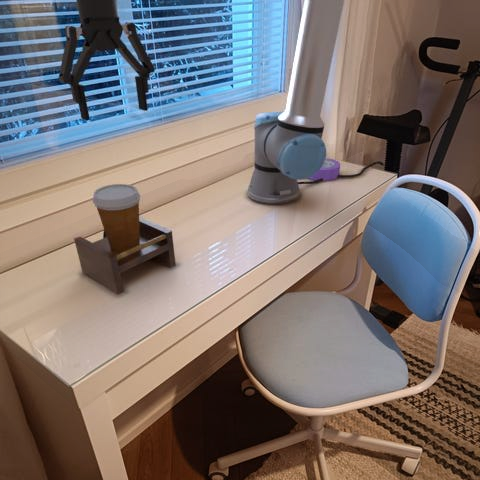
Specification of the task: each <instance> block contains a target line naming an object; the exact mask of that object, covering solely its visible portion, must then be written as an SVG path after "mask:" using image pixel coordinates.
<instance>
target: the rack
mask: <svg viewBox="0 0 480 480" xmlns="http://www.w3.org/2000/svg"><path fill="white" fill-rule="evenodd" d="M139 235H140V245H138V246H136V247H134V248H131V249H129V250H127V251H125V252H118V251H114V250H112V249H111V247H110V244H109V241H108V239H107V237H106V238H103V237H102V238H101V239H98V240H95V241H93V242H92V241H90V240H89V239H87V238H84V237H82V236H81V235H80V236H77V237H74V238H73V240H74V244H75V248H76V252H77V257H78V260H79V264H80V268H81V272H82V274H83V275H85V276H87V277H88V278H90V279H91V280H93V281H95V282H96V283H98V284H100V285H101V286H102V287H104V288H106V289H107V290H109V291H111V292H112V293H115V294H116V295H120V294H121V293H123V292H124V288H123V282H122V278H121V273H123V272H126V271H127V270H129V269H132V268H133V267H136V266H138V265H140V264H141V263H144V262H146V261H148V260H150V259H153V260H155V261H157V262H158V263H160V264H162V265H164V266H166V267H168V268H173V267H176V265H177V264H176V257H175V246H174V237H173V231H172V230H170V229H168V228H166V227H163V226H161V225H159V224H156V223H155V222H153V221H150V220H148V219H145V218H143V217H141V216H139Z"/></svg>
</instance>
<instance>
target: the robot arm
mask: <svg viewBox="0 0 480 480" xmlns="http://www.w3.org/2000/svg"><path fill="white" fill-rule="evenodd" d="M75 1H76V6H77V12H78V16H79V20H80V25H79V26H78V27H77V26H73V25H65V27H64V32H65V45H64V48H63V53H62V59H61V64H60V69H59V73H58V81H60V82H62V83H65V84H68V85H69V86H70V91H71V96H72V101H73V102H74V103H75V104H78V108H79V113H80V118H81V119H82V120H84V121H87V122H88V121H91V118H90V112H89V107H88V103H87V97H86V93H85V87H84V85H83V84H81V83H80V82H81V80H82V78H83V76H84V74H85V73H86V70H87V68H88V66H89V64H90V61H91V59H92V57H93V56H94V55H95V54H96V52H100V53H101V52H105V51H111V52H112V51H117V52H118V53H119V54H120V56H121V57H122V58H123V59H124V60H125V61H126V63H127V64H128V65H129V66H130V67H131V68H132V70H134V71H135V73H136V74H137V75H135V76H134V81H135V88H136V89H135V90H136V96H137V102H138V103H137V104H138V109H139V110H142V111H143V112H147V111H148V110H149V109H148V101H147V94H148V93H149V91H150V90H149V81H148V78H149V77H150V74H152V73H154V72H156V69H155V67H154V64H153V62H152V60H151V59H150V56H149V55H148V52H147V51H146V49H145V47H144V45H143V43H142V41H141V39H140V37H139V36H138V31H137V27H136V24H135V22H130V21H125V23H123V24H122V23H121V21H120V11H119V4H118V0H75ZM344 4H345V0H303V5H302V11H301V17H300V23H299V29H298V35H297V41H296V47H295V53H294V59H293V63H292V64H293V65H292V66H293V70H292V76H291V82H290V87H289V93H288V92H287V95H288V99H287V98H286V104H285V105H286V106H285V110H284V111H269V112H261V113H258V114H257V115H256V116H255V120H254V127H253V129H254V169H253V172H252V175H251V178H250V182H249V185H248V188H247V195H248V197H249V198H250V199H251V200H252V201H254V202H257V203H259V204H260V203H261V204H265V205H283V204H288V203H291V202H294V201H296V200H297V199H298V198H299V196H300V186H299V185H312V184H317V183H320V182H324V181H323V179H322V178H321V179H319V180H310V181H303V180H306V179H307V180H308V179H309V177H311V176H312V175H314V174H315V173H317V172H318V171H319V170H320V168H321V167H322V165H323V163H324V161H325V158H327V147H326V144H325V142H324V140H323V134H324V129H325V122H324V121H323V119H322V117H321V115H322V109H323V104H324V99H325V94H326V89H327V84H328V79H329V75H330V71H331V65H332V63H333V62H332V61H333V56H334V51H335V47H336V41H337V38H338V32H339V28H340V23H341V20H342V19H341V18H342V14H343V9H344ZM123 34H124V35H125V36H126V37H127V39H128V41H129V43H130V45H131V47H132V49H133V50H134V53H135V54H136V56H137V58H138V59H137V58H136V57H135V56H134V54H133V53H132V52H131V51H130V49H129V48H128V47H127V45H126V44H125V43H124V41H123V40H122V39H121V38H122V35H123ZM80 36H81V37H83V39H84V40H85V41H84V44H83V45H82V48H81V52H80V54H79V56H78V58H77V59H76V63H75V64H74V60H75V57H76V50H77V47H78V41H79V40H80ZM73 66H74V67H73ZM374 165H381V166H384V165H385V164H384V162H382V161H380V160H379V161H378V160H377V161H373V162H372V163H370V164H368V165H365V166H363V168H362V169H361V170H360V172H358V173H355V174H339V175H337V177H338V178H355V177H360V176H361V175H363V173H364V172H365V171H366V170H367V169H369V168H371V167H373V166H374Z"/></svg>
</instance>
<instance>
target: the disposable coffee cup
mask: <svg viewBox="0 0 480 480" xmlns="http://www.w3.org/2000/svg"><path fill="white" fill-rule="evenodd" d="M140 199H141V194H140V192H139V191H138V188H137V187H136V186H134V185H133V184H132V185H131V184H126V183H113V184H107V185H104V186H101V187H99V188H97V189H96V190H94V191H93V197H92V203H93V204H94V206H95V207H96V209H97V210H96V211H97V212H98V216H99V218H100V221H101V224H102V227H103V231H104V230H105V233H106V236H107V239H108V241H109V244H110V247H111V249H112V250H114V251H118V252H125V251H127V250H129V249H131V248H134V247H136V246H138V245H140V235H139V217H140Z"/></svg>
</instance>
